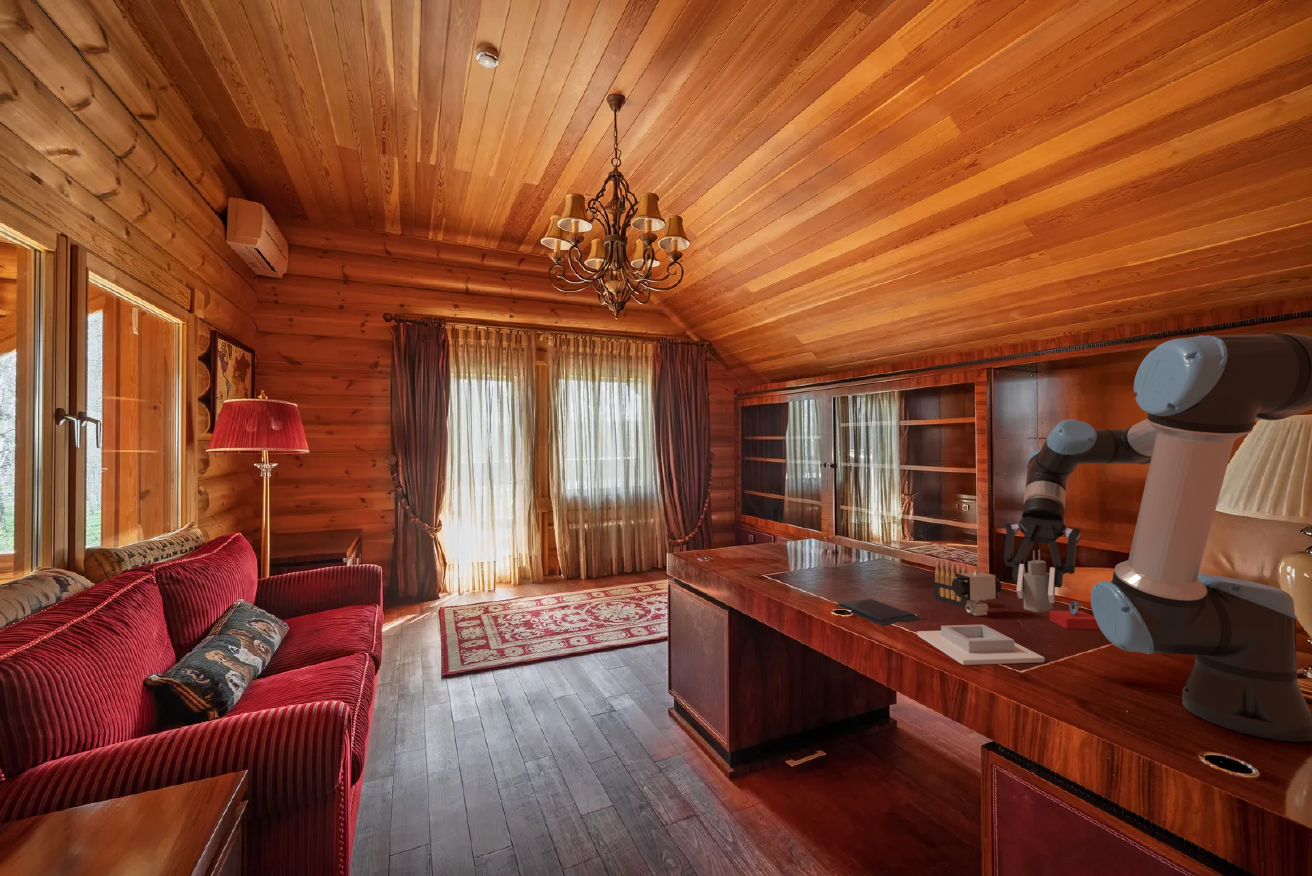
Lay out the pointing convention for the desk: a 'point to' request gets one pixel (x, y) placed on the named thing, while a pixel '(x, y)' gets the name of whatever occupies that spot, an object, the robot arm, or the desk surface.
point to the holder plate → (978, 645)
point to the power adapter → (1036, 586)
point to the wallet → (879, 612)
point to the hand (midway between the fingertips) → (1035, 596)
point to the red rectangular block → (1074, 618)
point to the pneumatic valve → (976, 590)
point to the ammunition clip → (947, 583)
